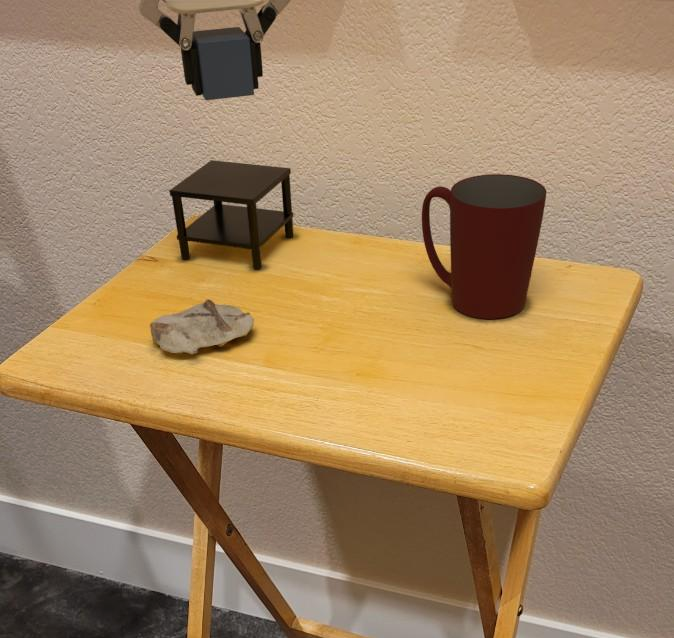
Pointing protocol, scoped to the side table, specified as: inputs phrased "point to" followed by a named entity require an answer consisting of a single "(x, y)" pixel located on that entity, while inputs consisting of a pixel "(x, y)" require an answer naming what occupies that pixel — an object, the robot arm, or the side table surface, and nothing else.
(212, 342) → the stone
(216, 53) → the block
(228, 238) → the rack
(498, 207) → the mug
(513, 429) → the side table surface
